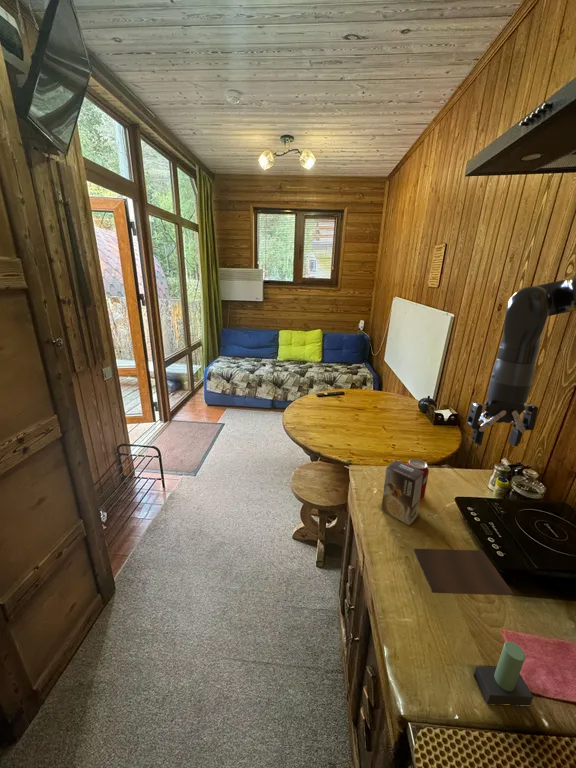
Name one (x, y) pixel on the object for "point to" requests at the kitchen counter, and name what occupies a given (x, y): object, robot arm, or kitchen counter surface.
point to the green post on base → (505, 679)
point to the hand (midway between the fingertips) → (494, 444)
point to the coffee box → (402, 491)
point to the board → (460, 572)
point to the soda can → (423, 467)
